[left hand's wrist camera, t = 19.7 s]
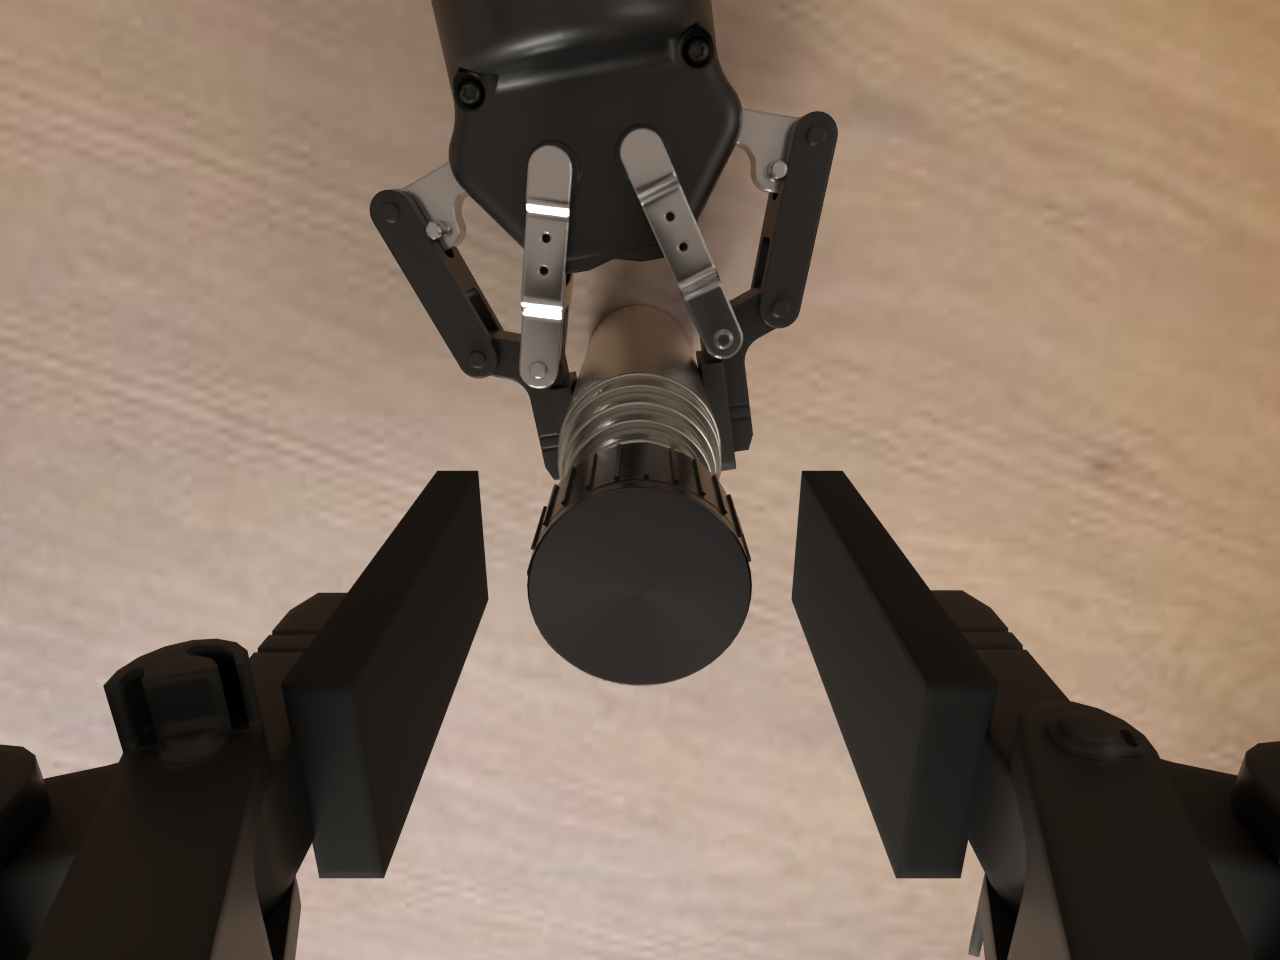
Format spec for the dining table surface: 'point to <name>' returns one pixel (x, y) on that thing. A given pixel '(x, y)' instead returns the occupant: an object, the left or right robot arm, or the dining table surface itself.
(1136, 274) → the dining table surface
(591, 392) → the bottle
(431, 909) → the dining table surface
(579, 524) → the cap
